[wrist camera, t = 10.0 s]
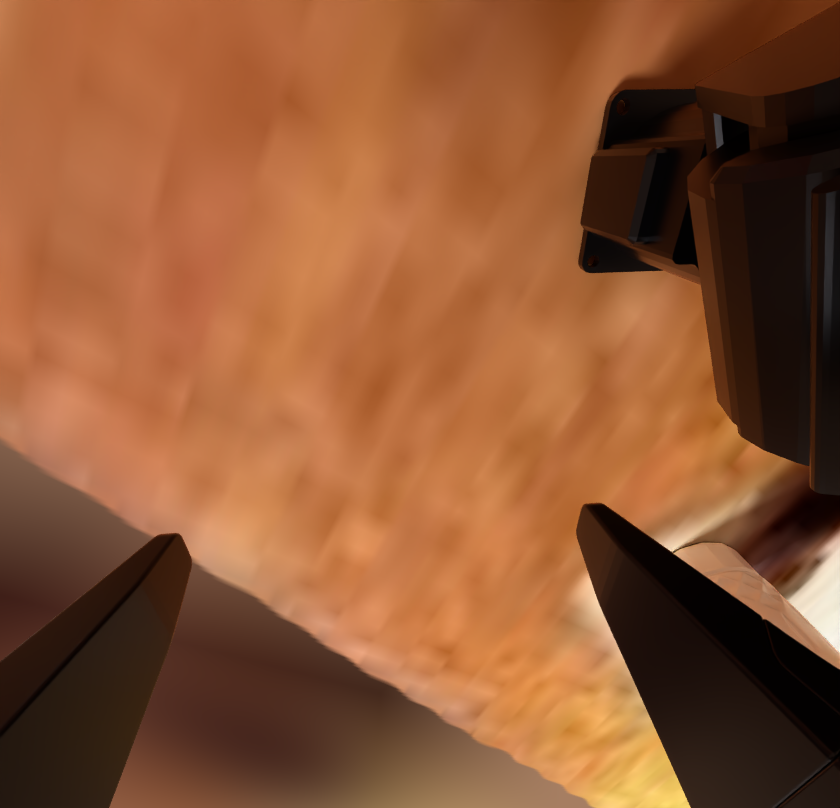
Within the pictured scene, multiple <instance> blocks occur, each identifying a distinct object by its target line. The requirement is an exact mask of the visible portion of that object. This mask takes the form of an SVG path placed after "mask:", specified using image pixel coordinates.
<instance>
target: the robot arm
mask: <svg viewBox="0 0 840 808" xmlns="http://www.w3.org/2000/svg"><path fill="white" fill-rule="evenodd" d="M620 100H623V102H624V103H625V108H624V111H623V113H622V114H621V115H619V114H618V113H617V104H618V102H619V101H620ZM581 225H582V226H583V228H584V231H583V237H582V243H581V248H580V254H579V260H578V262H579V266H580V268H581V269H582V270H584V271H586V272H588V273H607V272H635V271H663V270H664V271H667V272H669V273H672V274H674V275H677V276H679V277H682V278H684V279H687V280H690V281H692V282H695V283H697V284H700V285H701V288H702V295H703V302H704V309H705V317H706V324H707V331H708V338H709V345H710V352H711V359H712V366H713V373H714V380H715V387H716V394H717V401H718V403H719V404H720V405H721V407H722V408H723V410H724V411H725V412H726V414H727V415H728V416H729V418H730V419H731V421H732V422H733V423H735V424H736V425H737V427H738V433H739V434H740V436H741V437H743V438H744V439H746V440H748V441H749V442H751V443H753V444H754V445H756V446H758V447H759V448H761V449H763V450H765V451H767V452H770V453H773V454H775V455H778V456H780V457H783V458H786V459H788V460H791V461H794V462H796V463H799V464H803V465H807V466H810V488H811V489H812V490H813V491H815V492H817V493H820V494H829V495H840V2H839V3H837V4H835V5H834V6H832V7H830V8H828V9H827V10H825V11H823V12H821V13H820V14H818V15H816V16H814V17H812V18H811V19H809V20H807V21H805V22H804V23H802V24H800V25H798V26H797V27H795V28H793V29H791V30H790V31H788V32H786V33H784V34H782V35H781V36H779V37H777V38H775V39H774V40H772V41H770V42H768V43H767V44H765V45H763V46H761V47H759V48H758V49H756V50H754V51H752V52H751V53H749V54H747V55H745V56H744V57H742V58H740V59H738V60H736V61H735V62H733V63H731V64H729V65H728V66H726V67H724V68H722V69H721V70H719V71H717V72H715V73H714V74H712V75H710V76H708V77H706V78H705V79H703V80H701V81H699V82H698V83H696V84H695V89H660V90H624V91H620V92H616V93H615V94H613V95H612V96H611V97H610V98H609V100H608V101H607V104H606V107H605V112H604V117H603V123H602V129H601V134H600V140H599V146H598V151H597V152H596V153H595V154H594V155H593V156H592V158H591V164H590V170H589V175H588V181H587V187H586V193H585V199H584V205H583V211H582V216H581ZM591 256H595V261H594V263H592V264H591V265H588V259H589V258H590V257H591ZM576 534H577V539H578V542H579V545H580V548H581V551H582V554H583V558H584V561H585V564H586V567H587V570H588V573H589V576H590V579H591V582H592V585H593V588H594V591H595V594H596V596H597V599H598V602H599V604H600V607H601V609H602V611H603V614H604V616H605V618H606V620H607V623H608V625H609V627H610V629H611V632H612V634H613V636H614V638H615V640H616V643H617V645H618V647H619V649H620V652H621V654H622V656H623V658H624V660H625V663H626V665H627V667H628V669H629V671H630V674H631V676H632V678H633V680H634V683H635V685H636V687H637V689H638V691H639V694H640V696H641V698H642V700H643V703H644V705H645V707H646V709H647V711H648V714H649V716H650V718H651V720H652V722H653V725H654V727H655V729H656V731H657V734H658V736H659V738H660V740H661V742H662V745H663V747H664V749H665V751H666V754H667V756H668V758H669V760H670V762H671V765H672V767H673V769H674V771H675V774H676V776H677V778H678V780H679V782H680V785H681V787H682V789H683V791H684V793H685V796H686V798H687V800H688V802H689V805H690V807H691V808H840V669H838V668H837V667H835V666H834V665H832V664H831V663H829V662H828V661H826V660H825V659H823V658H821V657H820V656H819V655H817V654H816V653H814V652H813V651H811V650H810V649H808V648H807V647H805V646H804V645H803V644H801V643H800V642H798V641H797V640H795V639H794V638H792V637H791V636H789V635H788V634H787V633H785V632H784V631H782V630H781V629H780V628H778V627H777V626H775V625H774V624H772V623H771V622H770V621H768V620H767V619H763V618H762V616H761V615H760V614H758V613H757V612H755V611H754V610H752V609H751V608H750V607H748V606H747V605H745V604H744V603H743V602H741V601H740V600H738V599H737V598H736V597H734V596H733V595H731V594H730V593H729V592H727V591H726V590H724V589H723V588H721V587H720V586H719V585H717V584H716V583H714V582H713V581H712V580H710V579H709V578H707V577H706V576H705V575H703V574H702V573H700V572H699V571H697V570H696V569H695V568H693V567H692V566H690V565H689V564H688V563H686V562H685V561H683V560H682V559H681V558H679V557H678V556H676V555H675V554H674V553H672V552H671V551H669V550H668V549H666V548H665V547H664V546H662V545H661V544H659V543H658V542H657V541H655V540H654V539H652V538H651V537H650V536H648V535H647V534H645V533H644V532H643V531H641V530H640V529H638V528H637V527H635V526H634V525H633V524H631V523H630V522H628V521H627V520H626V519H624V518H623V517H621V516H620V515H619V514H617V513H616V512H614V511H613V510H611V509H610V508H609V507H607V506H606V505H604V504H602V503H589V504H584V505H583V506H582V509H581V512H580V516H579V520H578V524H577V529H576ZM191 567H192V559H191V556H190V554H189V551H188V549H187V547H186V545H185V542H184V540H183V538H182V536H181V535H180V534H178V533H169V534H160V535H157V536H156V537H154V538H153V539H152V540H150V541H149V542H148V543H147V544H145V545H144V546H143V547H142V548H140V549H139V550H138V551H137V552H136V553H134V554H133V555H132V556H131V557H129V558H128V559H127V560H126V561H124V562H123V563H122V564H121V565H120V566H118V567H117V568H116V569H114V570H113V571H112V572H111V573H110V574H108V575H107V576H106V577H105V578H103V579H102V580H101V581H100V582H98V583H97V584H96V585H95V586H93V587H92V588H91V589H90V590H88V591H87V592H86V593H85V594H84V595H82V596H81V597H80V598H78V599H77V600H76V601H75V602H74V603H72V604H71V605H70V606H69V607H67V608H66V609H65V610H64V611H62V612H61V613H60V614H59V615H57V616H56V617H55V618H54V619H52V620H51V621H50V622H49V623H47V624H46V625H45V626H44V627H43V628H41V629H40V630H39V631H38V632H36V633H35V634H34V635H33V636H31V637H30V638H29V639H28V640H26V641H25V642H24V643H23V644H21V645H20V646H19V647H18V648H16V649H15V650H14V651H13V652H12V653H10V654H9V655H8V656H7V657H5V658H4V659H3V660H2V661H0V808H109V807H110V804H111V801H112V798H113V796H114V793H115V791H116V788H117V785H118V783H119V780H120V777H121V775H122V772H123V769H124V767H125V764H126V761H127V759H128V756H129V753H130V751H131V748H132V746H133V743H134V740H135V738H136V735H137V732H138V730H139V727H140V724H141V722H142V719H143V717H144V714H145V711H146V708H147V706H148V703H149V701H150V698H151V695H152V693H153V690H154V687H155V685H156V682H157V679H158V676H159V674H160V671H161V669H162V666H163V663H164V661H165V658H166V656H167V653H168V650H169V647H170V645H171V642H172V639H173V635H174V632H175V628H176V625H177V621H178V617H179V613H180V610H181V606H182V602H183V598H184V594H185V590H186V586H187V583H188V579H189V576H190V572H191Z"/></svg>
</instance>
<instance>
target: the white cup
mask: <svg viewBox="0 0 840 808" xmlns="http://www.w3.org/2000/svg"><path fill="white" fill-rule="evenodd" d="M674 554H675V555H676V556H678V557H679V558H681V559H682V560H683V561H685V562H686V563H688V564H689V565H690V566H692V567H693V568H695V569H696V570H697V571H699V572H700V573H702V574H703V575H705V576H706V577H707V578H709V579H710V580H712V581H713V582H714V583H716V584H717V585H719V586H720V587H721V588H723V589H724V590H726V591H727V592H729V593H730V594H731V595H733V596H734V597H736V598H737V599H738V600H740V601H741V602H743V603H744V604H745V605H747V606H748V607H750V608H751V609H752V610H754V611H755V612H757V613H758V614H760V615H761V616H762V618H763V619H767V620H768V621H770V622H771V623H772V624H774V625H775V626H777V627H778V628H780V629H781V630H782V631H784V632H785V633H787V634H788V635H789V636H791V637H792V638H794V639H795V640H797V641H798V642H800V643H801V644H803V645H804V646H805V647H807V648H808V649H810V650H811V651H813V652H814V653H816V654H817V655H819V656H820V657H821V658H823V659H825V660H826V661H828V662H829V663H831V664H832V665H834V666H835V667H837V668H838V669H840V653H839V652H838V651H837V650H836V649H835V648H834V647H833V646H832V645H831V644H830V643H829V642H828V641H827V640H826V638H825V637H824V636H823V635H822V634H821V633H820V632H819V631H818V630H817V629H816V628H815V627H814V626H813V625H812V624H811V623H810V622H809V621H808V620H807V619H806V618H805V617H804V616H803V615H802V614H801V613H800V612H799V611H798V610H797V609H796V608H795V607H794V606H793V605H791V604H790V603H789V602H788V601H787V600H786V599H785V598H783V597H782V595H781V594H780V593H779V592H778V591H777V590H776V589H775V588H774V587H773V586H772V585H771V584H770V583H769V582H768V581H766V580H765V579H764V578H763V577H761V576H760V575H759V574H758V573H757V572H756V571H755V570H754V569H753V568H752V567H751V566H750V565H749V564H748V563H747V562H746V561H745V559H744V558H743V557H742V556H741V555H740V554H739V553H738V552H737V551H736V550H734V549H732V548H730V547H729V546H727V545H725V544H723V543H699V544H695V545H692V546H688V547H685V548H682V549H680V550H678V551H676V552H674Z"/></svg>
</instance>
